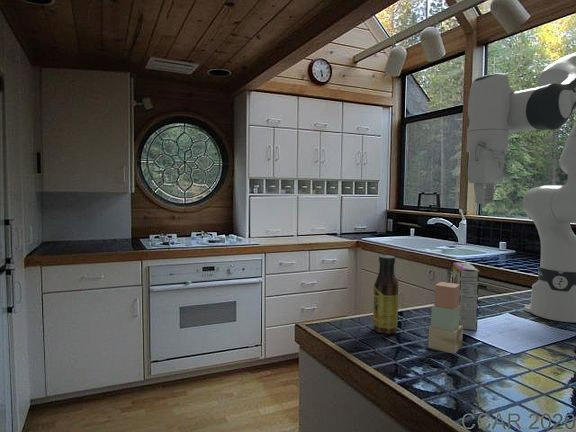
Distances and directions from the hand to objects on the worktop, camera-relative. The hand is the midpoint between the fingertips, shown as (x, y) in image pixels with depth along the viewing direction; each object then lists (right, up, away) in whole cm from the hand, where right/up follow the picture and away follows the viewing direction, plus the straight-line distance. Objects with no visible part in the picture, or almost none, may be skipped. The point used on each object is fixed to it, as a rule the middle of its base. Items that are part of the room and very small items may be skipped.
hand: (484, 203), depth 101 cm
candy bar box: (+2, -33, +18) cm, 38 cm away
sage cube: (-9, -29, 0) cm, 31 cm away
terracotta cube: (-9, -24, -1) cm, 26 cm away
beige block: (-9, -34, 0) cm, 35 cm away
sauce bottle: (-21, -33, +11) cm, 41 cm away
